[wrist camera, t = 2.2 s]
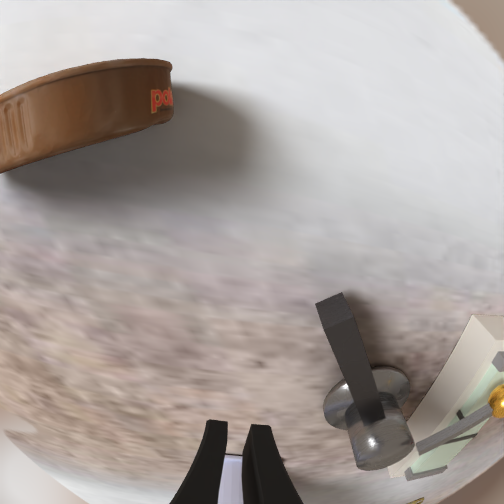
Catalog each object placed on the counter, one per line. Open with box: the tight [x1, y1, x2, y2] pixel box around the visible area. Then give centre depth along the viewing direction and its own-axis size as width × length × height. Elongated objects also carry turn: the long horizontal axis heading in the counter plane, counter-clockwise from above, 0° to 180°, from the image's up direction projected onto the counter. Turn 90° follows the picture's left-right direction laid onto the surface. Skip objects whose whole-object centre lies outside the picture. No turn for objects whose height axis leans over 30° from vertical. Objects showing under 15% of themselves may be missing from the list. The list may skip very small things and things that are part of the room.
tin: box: [0, 58, 174, 174], centre depth 11 cm, size 15×3×8 cm, turn 94°
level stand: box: [387, 314, 504, 481], centre depth 21 cm, size 18×7×5 cm, turn 170°
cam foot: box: [315, 292, 504, 471], centre depth 17 cm, size 14×14×7 cm
